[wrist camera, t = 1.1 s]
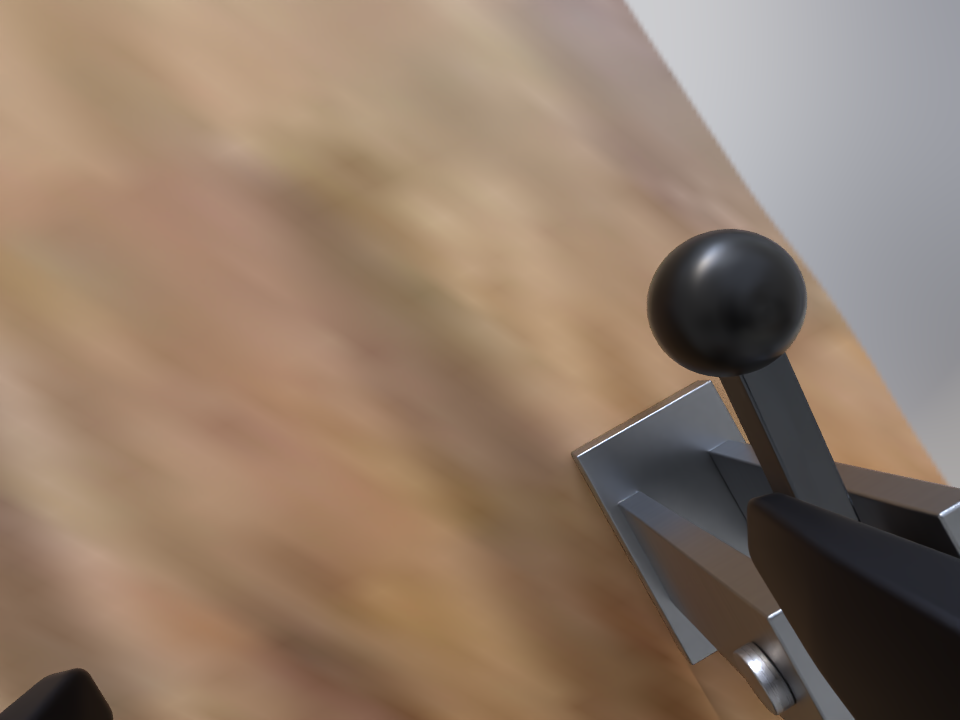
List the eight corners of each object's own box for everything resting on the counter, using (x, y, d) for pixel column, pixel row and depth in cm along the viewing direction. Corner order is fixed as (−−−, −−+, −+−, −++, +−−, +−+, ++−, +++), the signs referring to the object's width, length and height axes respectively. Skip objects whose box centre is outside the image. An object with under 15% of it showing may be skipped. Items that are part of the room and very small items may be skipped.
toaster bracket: (570, 452, 23) (686, 526, 11) (698, 379, 23) (944, 377, 11) (680, 651, 23) (917, 940, 11) (808, 575, 23) (1172, 777, 11)
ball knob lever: (603, 276, 13) (660, 270, 10) (716, 213, 13) (806, 189, 10) (790, 656, 15) (886, 748, 12) (888, 597, 15) (1008, 673, 12)
